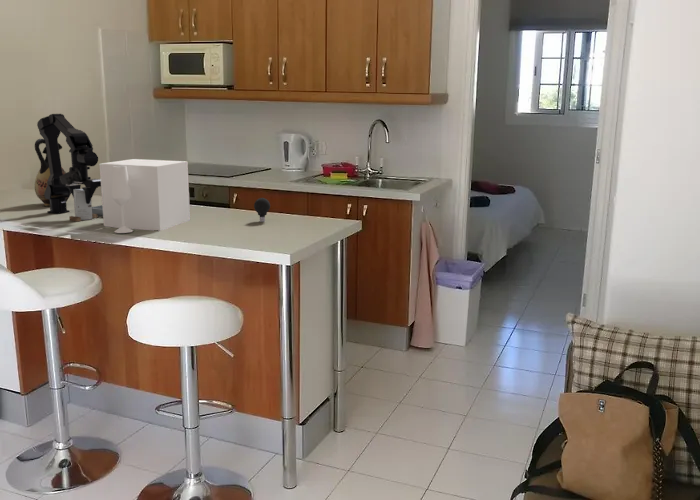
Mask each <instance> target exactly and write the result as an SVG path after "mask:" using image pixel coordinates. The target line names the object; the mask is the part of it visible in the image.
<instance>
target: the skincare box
mask: <svg viewBox="0 0 700 500" xmlns="http://www.w3.org/2000/svg"><path fill="white" fill-rule="evenodd" d="M73 191H74V198H73V203H74V204H73V205H74V216H75V217H81V221H84V220H85V221H86V220H93V218H92V207H93V205H92V200H91V201H90V203H89V204H87V203H86V198H85V191H84V190H83V189H82V188H80V189H74V190H73Z"/></svg>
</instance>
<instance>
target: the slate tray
mask: <svg viewBox="0 0 700 500" xmlns="http://www.w3.org/2000/svg"><path fill="white" fill-rule="evenodd" d="M92 214H97V217H102V218H103V206H102V204H101V205H95V206H92Z"/></svg>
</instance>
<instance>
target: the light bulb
mask: <svg viewBox="0 0 700 500" xmlns="http://www.w3.org/2000/svg"><path fill="white" fill-rule="evenodd" d="M253 208H254V211H255V212H256V213H257V216H259V222H261V223H263V222H264V223H265V222H266V216H267V214H268V212H270V209H271V203H270V201H269V200H268V199H267V198H264V197H259V198H258V199H256V200H255V201H254V204H253Z"/></svg>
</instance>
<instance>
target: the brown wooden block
mask: <svg viewBox="0 0 700 500" xmlns="http://www.w3.org/2000/svg"><path fill="white" fill-rule="evenodd" d="M92 219H98V216H97V214H92ZM69 221H70V222H71V221H73V222H81V221H82V220H81V217H75V215H71V216H69Z"/></svg>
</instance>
